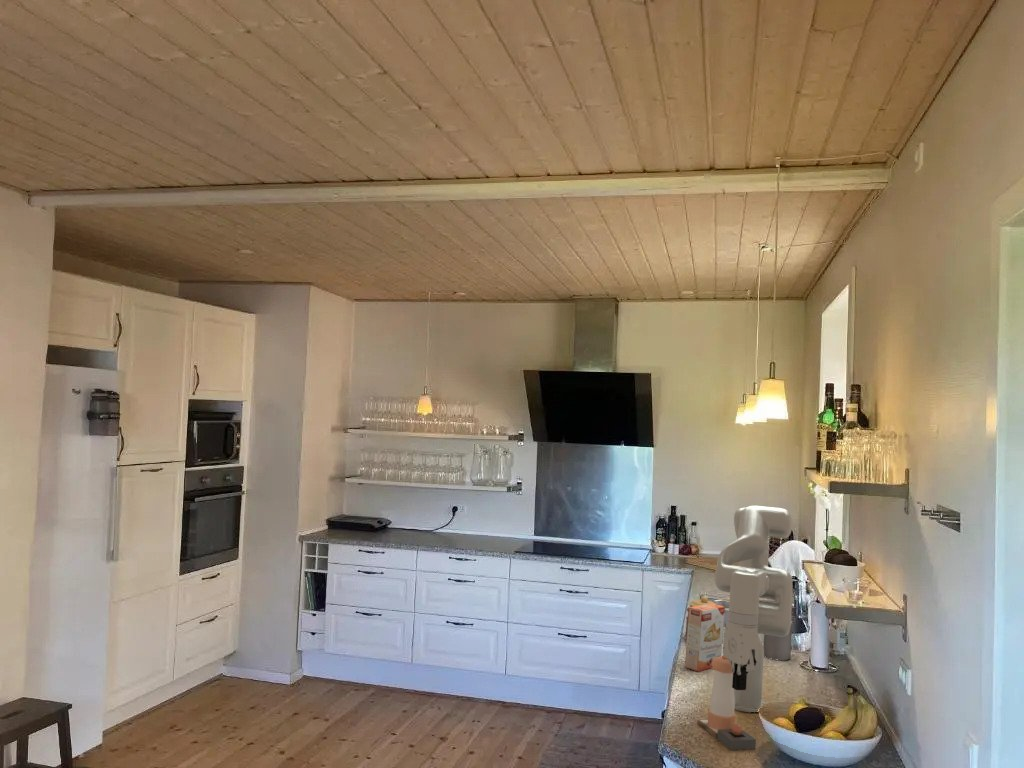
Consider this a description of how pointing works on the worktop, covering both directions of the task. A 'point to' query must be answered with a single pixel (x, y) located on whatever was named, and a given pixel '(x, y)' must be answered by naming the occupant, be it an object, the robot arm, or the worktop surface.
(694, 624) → the cracker box
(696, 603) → the canister
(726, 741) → the button housing
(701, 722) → the drawing board
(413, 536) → the worktop surface
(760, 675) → the robot arm
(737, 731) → the button
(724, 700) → the salt shaker
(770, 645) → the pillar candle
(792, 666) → the worktop surface
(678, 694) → the worktop surface
